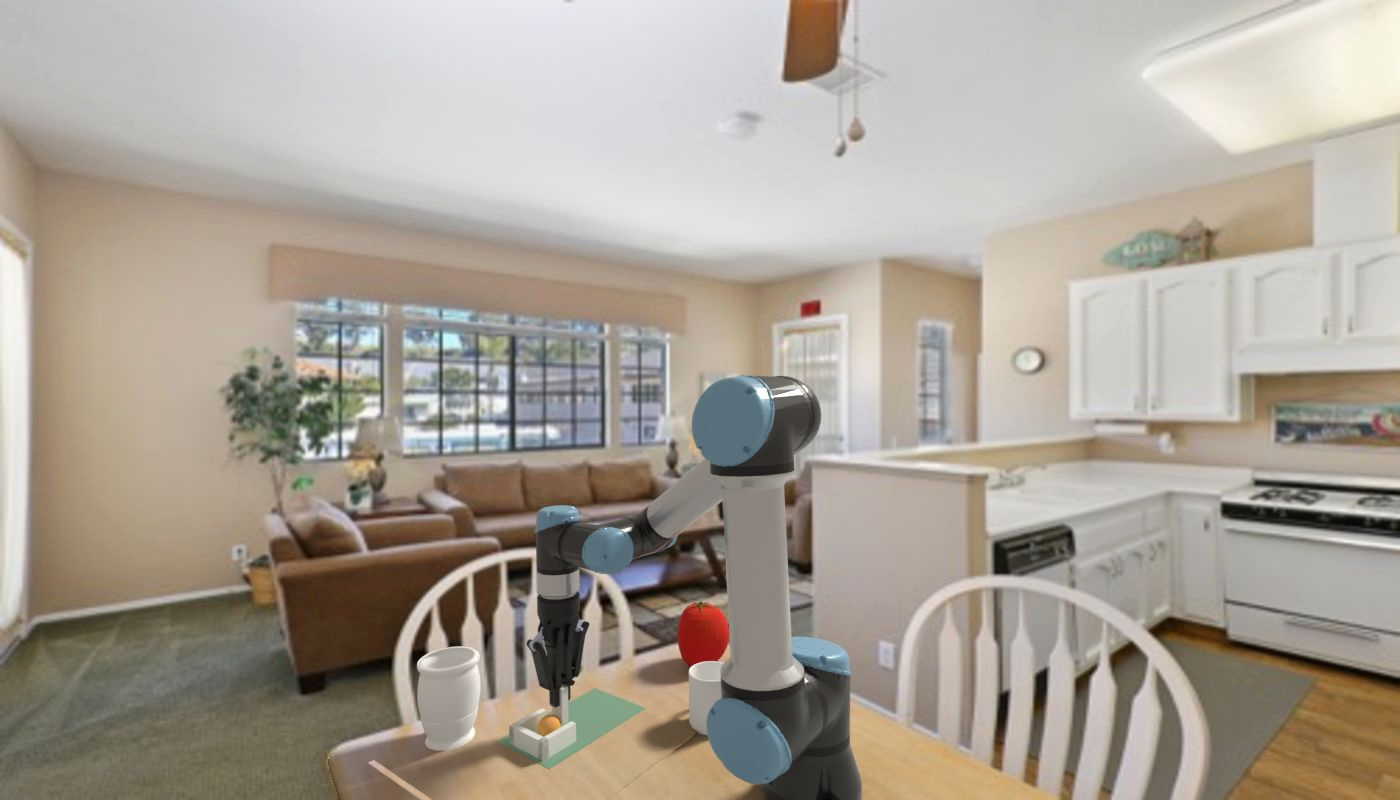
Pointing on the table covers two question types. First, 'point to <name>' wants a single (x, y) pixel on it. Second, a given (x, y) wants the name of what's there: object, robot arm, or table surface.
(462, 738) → the jar
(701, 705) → the cup
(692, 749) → the table surface
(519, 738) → the white c-shaped bracket
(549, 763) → the putting mat
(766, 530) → the robot arm
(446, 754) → the table surface
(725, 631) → the tomato
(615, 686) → the table surface
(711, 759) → the table surface
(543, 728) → the ball
